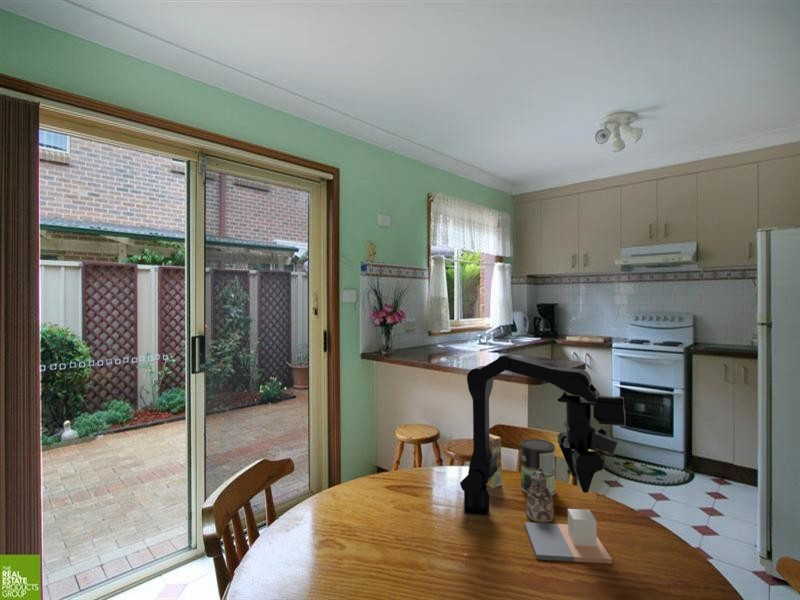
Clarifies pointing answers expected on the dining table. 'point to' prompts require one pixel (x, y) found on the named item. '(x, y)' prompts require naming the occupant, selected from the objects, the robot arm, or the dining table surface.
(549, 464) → the coffee can
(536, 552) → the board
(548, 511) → the figurine
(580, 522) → the cream block
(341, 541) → the dining table surface
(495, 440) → the candy box
